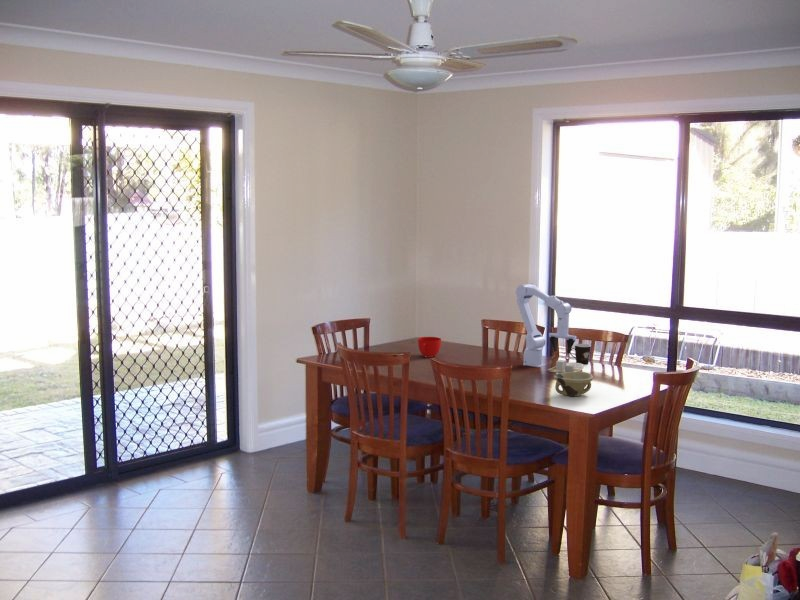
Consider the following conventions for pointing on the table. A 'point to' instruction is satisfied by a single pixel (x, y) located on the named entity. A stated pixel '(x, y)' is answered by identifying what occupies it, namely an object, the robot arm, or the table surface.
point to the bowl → (573, 383)
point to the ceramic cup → (429, 345)
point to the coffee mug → (582, 353)
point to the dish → (576, 365)
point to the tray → (562, 371)
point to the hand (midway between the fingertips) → (562, 352)
